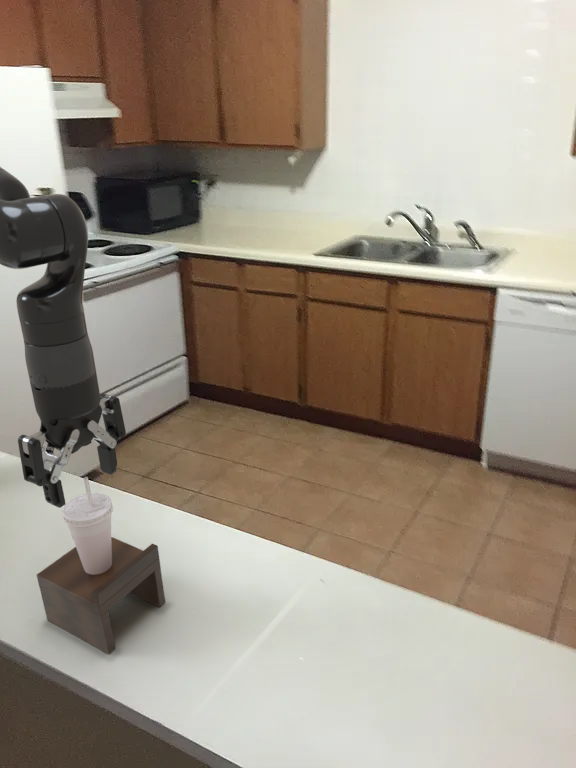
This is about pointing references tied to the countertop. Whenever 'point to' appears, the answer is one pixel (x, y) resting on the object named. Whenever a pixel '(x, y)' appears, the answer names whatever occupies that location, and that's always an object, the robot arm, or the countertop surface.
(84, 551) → the smoothie
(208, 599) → the countertop surface
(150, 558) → the shelf
